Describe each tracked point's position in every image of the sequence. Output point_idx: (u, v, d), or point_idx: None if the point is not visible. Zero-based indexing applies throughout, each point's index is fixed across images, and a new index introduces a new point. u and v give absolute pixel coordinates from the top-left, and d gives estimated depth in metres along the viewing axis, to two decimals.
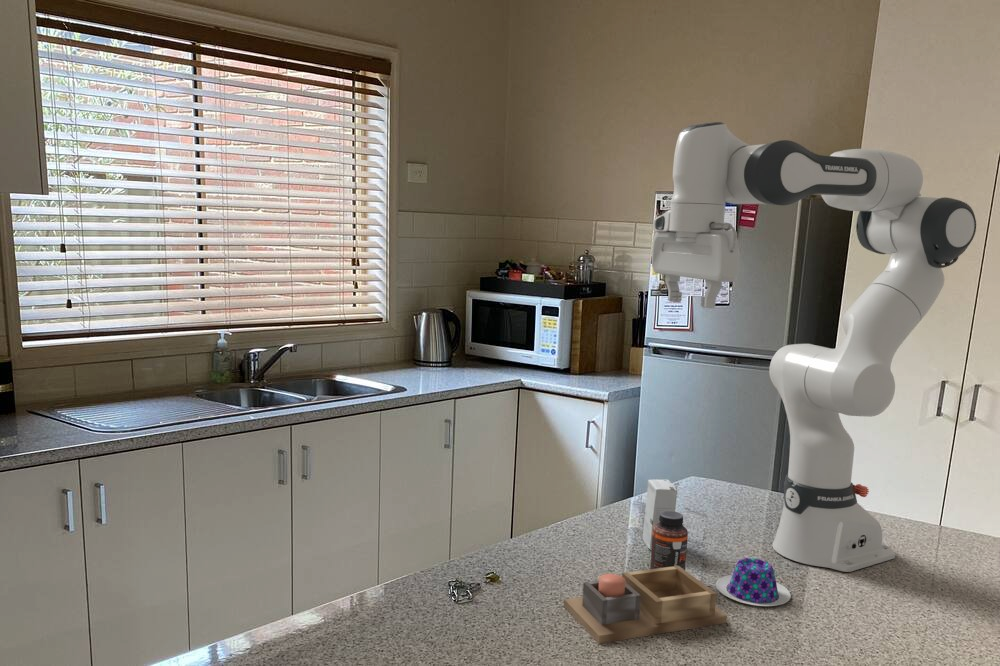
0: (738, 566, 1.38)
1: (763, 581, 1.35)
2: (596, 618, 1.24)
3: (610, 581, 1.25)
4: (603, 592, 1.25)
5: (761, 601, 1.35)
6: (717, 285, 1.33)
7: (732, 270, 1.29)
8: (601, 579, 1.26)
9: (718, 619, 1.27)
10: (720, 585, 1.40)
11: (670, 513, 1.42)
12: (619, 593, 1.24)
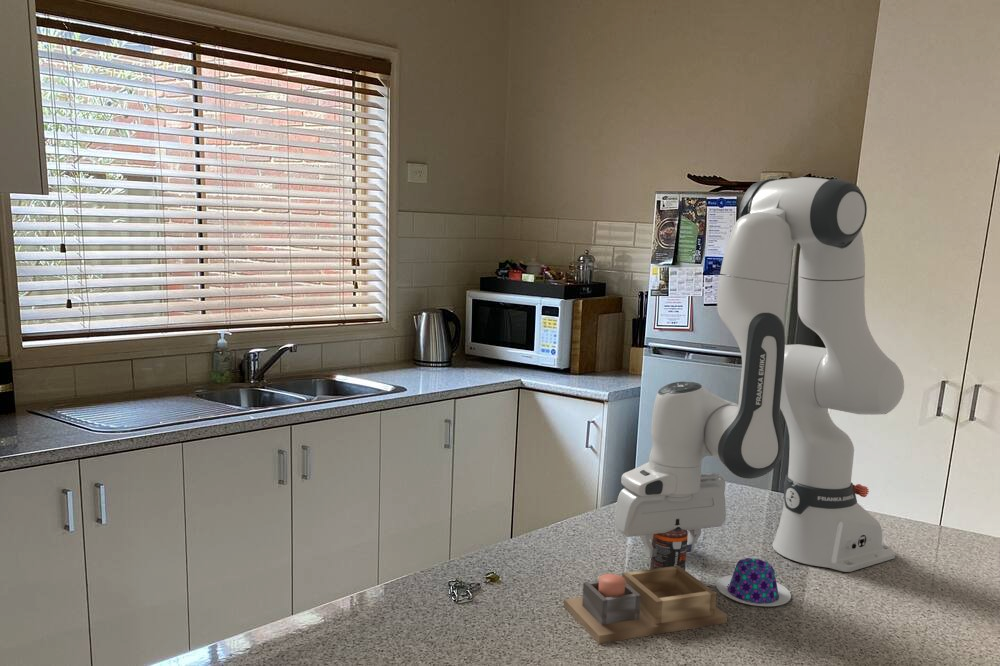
0: (738, 566, 1.38)
1: (763, 581, 1.35)
2: (596, 618, 1.24)
3: (610, 581, 1.25)
4: (603, 592, 1.25)
5: (761, 601, 1.35)
6: None
7: None
8: (601, 579, 1.26)
9: (718, 619, 1.27)
10: (721, 584, 1.40)
11: None
12: (619, 593, 1.24)
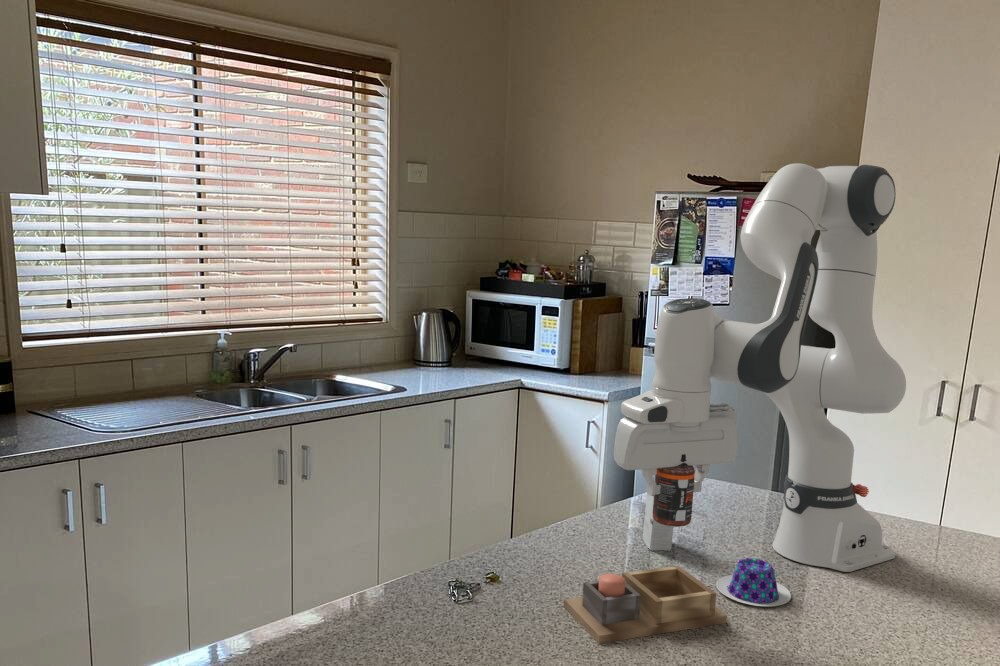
0: (738, 566, 1.38)
1: (762, 581, 1.35)
2: (596, 618, 1.24)
3: (610, 581, 1.25)
4: (603, 592, 1.25)
5: (759, 601, 1.35)
6: None
7: None
8: (601, 579, 1.26)
9: (718, 619, 1.27)
10: (721, 584, 1.41)
11: None
12: (619, 593, 1.24)
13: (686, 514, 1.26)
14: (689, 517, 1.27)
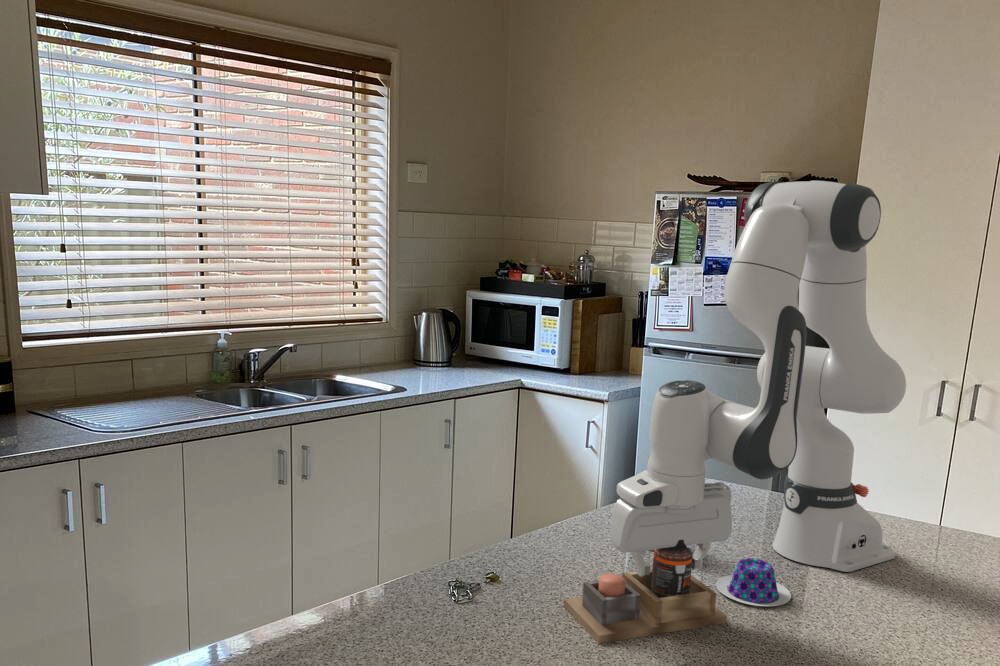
0: (737, 565, 1.38)
1: (761, 581, 1.35)
2: (596, 618, 1.24)
3: (610, 581, 1.25)
4: (603, 592, 1.25)
5: (758, 601, 1.35)
6: None
7: None
8: (601, 579, 1.26)
9: (718, 619, 1.27)
10: (722, 583, 1.41)
11: None
12: (619, 593, 1.24)
13: None
14: None
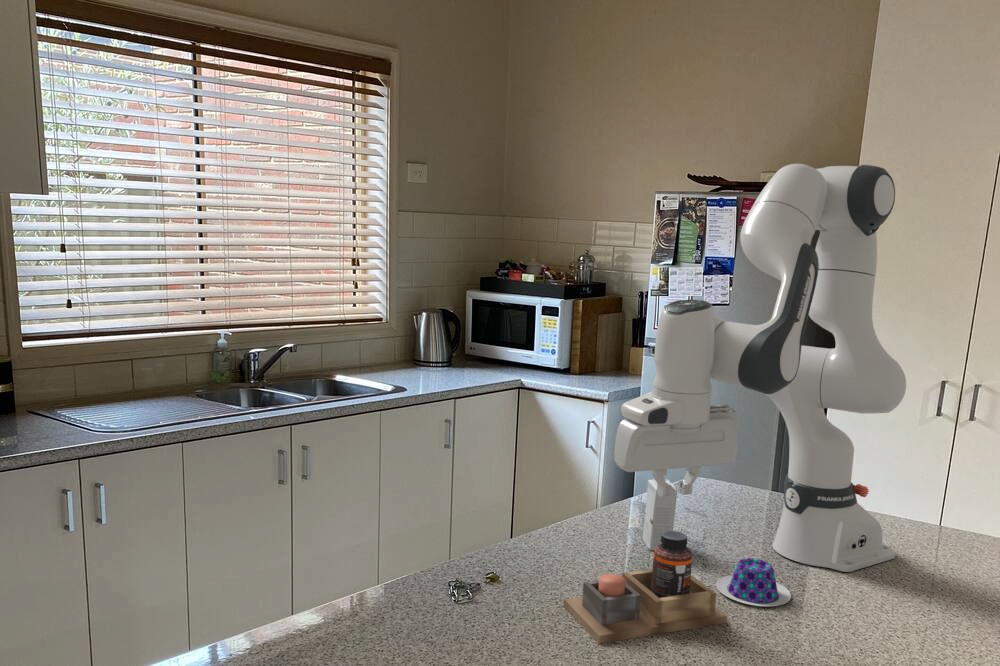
0: (737, 565, 1.38)
1: (760, 581, 1.35)
2: (596, 618, 1.24)
3: (610, 581, 1.25)
4: (603, 592, 1.25)
5: (757, 601, 1.35)
6: None
7: None
8: (601, 579, 1.26)
9: (718, 619, 1.27)
10: (722, 583, 1.41)
11: (673, 534, 1.29)
12: (619, 593, 1.24)
13: None
14: None
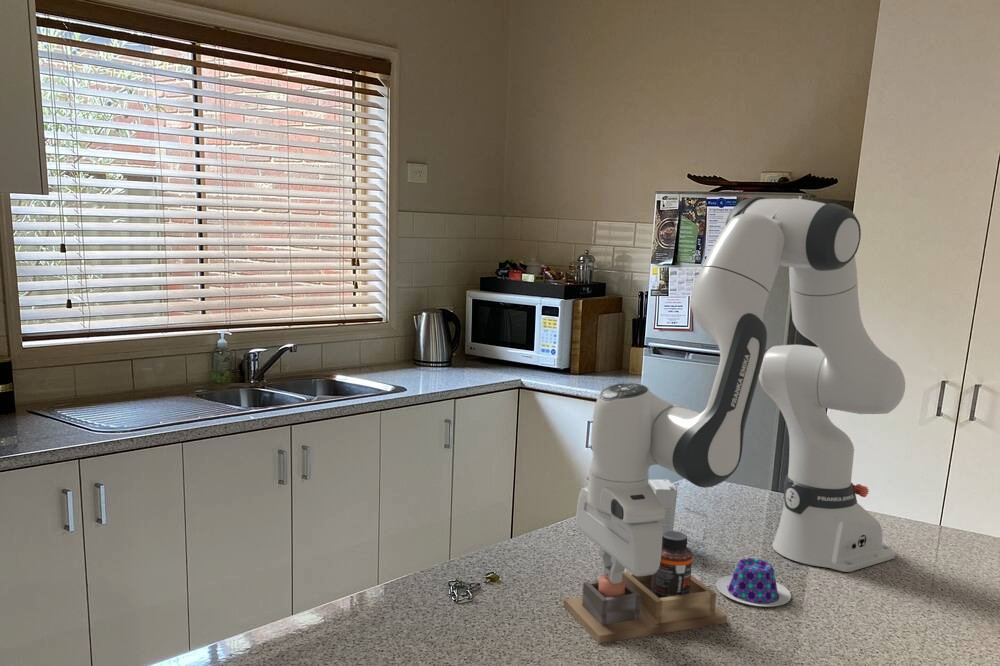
0: (737, 565, 1.38)
1: (759, 581, 1.35)
2: (596, 618, 1.24)
3: None
4: (603, 592, 1.25)
5: (756, 601, 1.35)
6: None
7: None
8: (601, 579, 1.26)
9: (718, 619, 1.27)
10: (722, 582, 1.41)
11: (673, 534, 1.29)
12: (619, 593, 1.24)
13: None
14: None
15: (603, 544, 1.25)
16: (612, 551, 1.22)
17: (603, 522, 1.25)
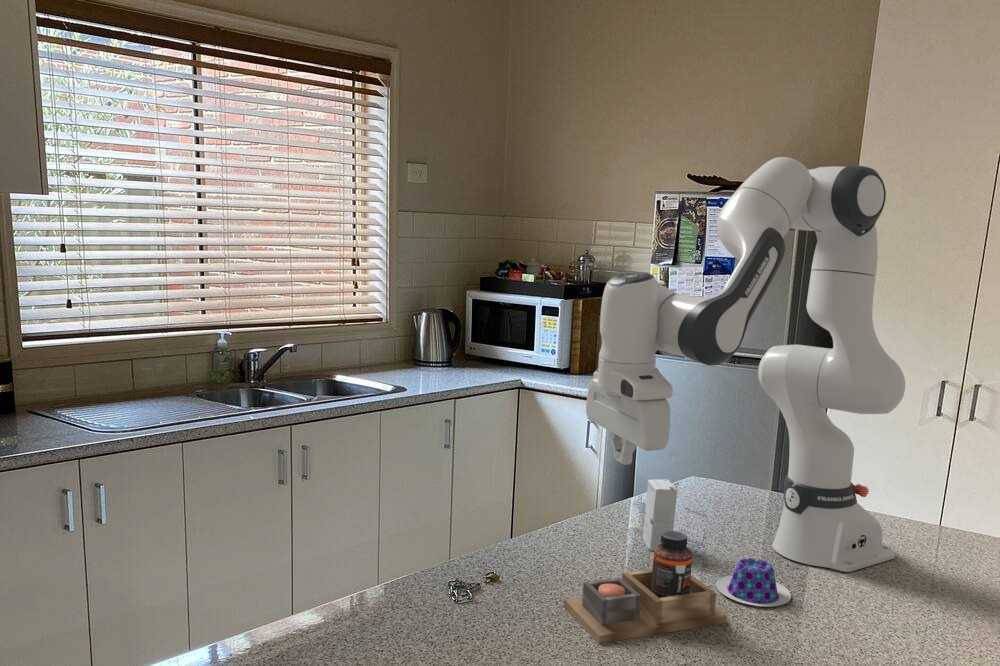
0: (737, 564, 1.38)
1: (758, 581, 1.35)
2: (596, 618, 1.24)
3: (609, 591, 1.26)
4: None
5: (754, 601, 1.35)
6: None
7: None
8: (600, 589, 1.26)
9: (718, 619, 1.27)
10: (723, 582, 1.42)
11: (673, 534, 1.29)
12: None
13: None
14: None
15: (613, 427, 1.30)
16: (622, 432, 1.28)
17: (613, 407, 1.31)
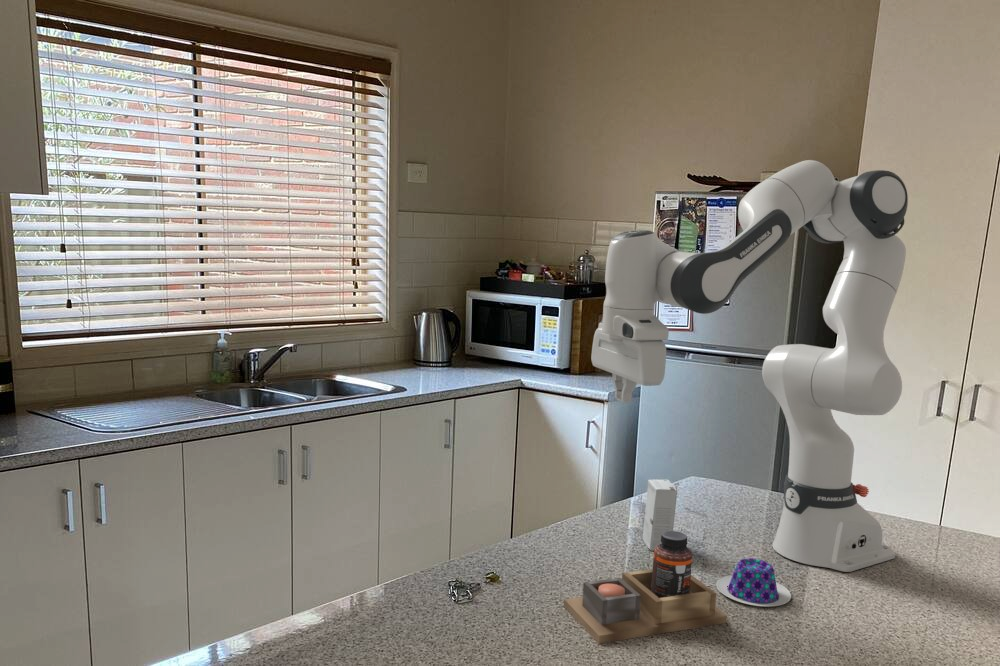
0: (737, 564, 1.38)
1: (757, 581, 1.35)
2: (596, 618, 1.24)
3: (609, 591, 1.26)
4: None
5: (753, 601, 1.35)
6: None
7: None
8: (600, 589, 1.26)
9: (718, 619, 1.27)
10: (724, 581, 1.42)
11: (673, 534, 1.29)
12: None
13: None
14: None
15: (615, 369, 1.45)
16: (623, 372, 1.43)
17: (615, 351, 1.46)
